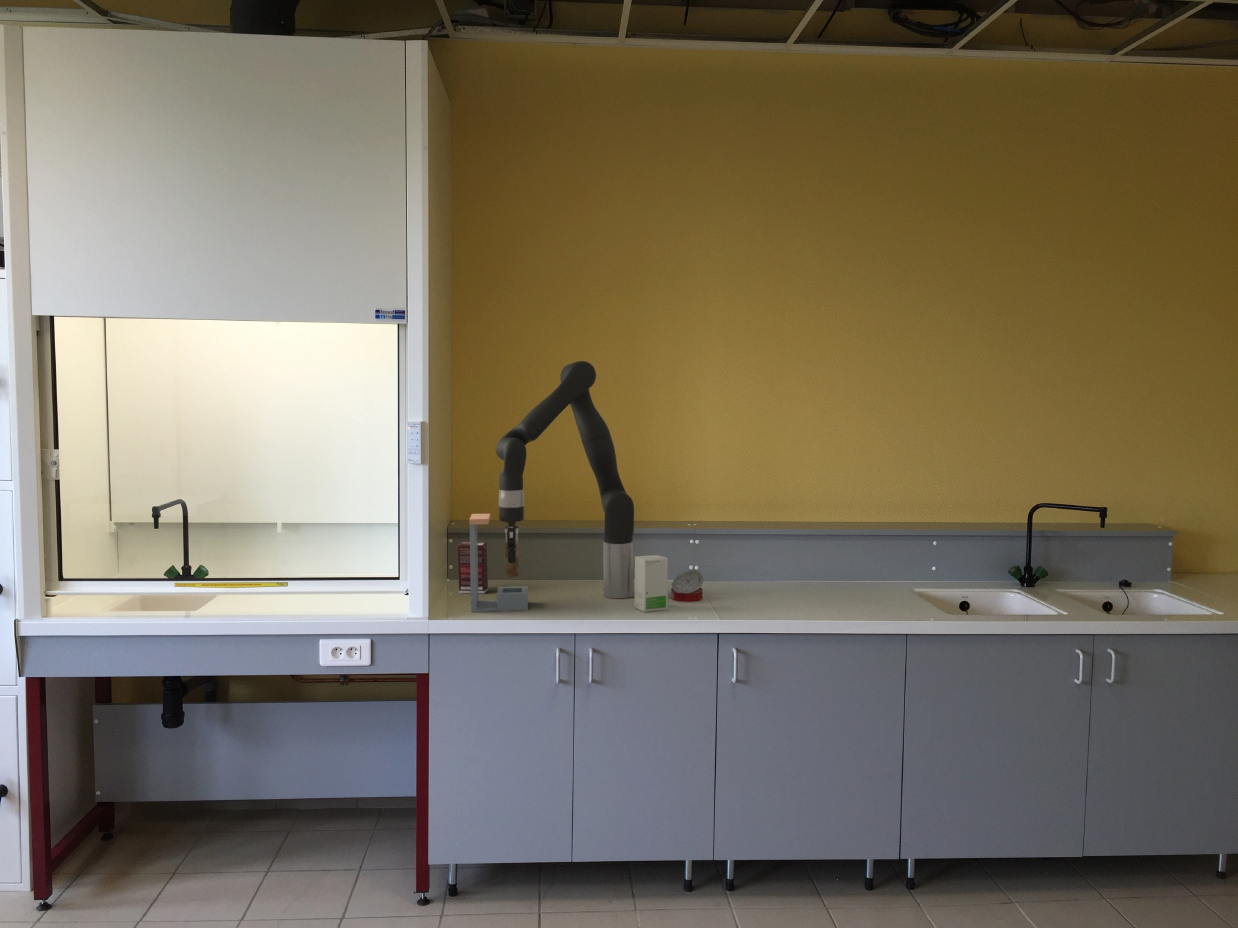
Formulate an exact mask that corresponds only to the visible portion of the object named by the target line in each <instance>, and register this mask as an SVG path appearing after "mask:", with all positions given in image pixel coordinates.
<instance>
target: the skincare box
mask: <svg viewBox="0 0 1238 928" xmlns="http://www.w3.org/2000/svg"><path fill="white" fill-rule="evenodd" d="M668 562H669V558H668V557H666V556H662V555H659V554H656V555H655V554H654V555H641V556H639V555H637V556H634V608H635V609H636V610H639V611H641V612H642V613H643V612H644V613H648V612H655V611H657V612H658V611H663V610H664V611H666V610H668V587H669V586H668V583H669V582H668V579H669V578H668V576H669V575H668V572H669V569H668V568H669V566H668V564H669V563H668Z"/></svg>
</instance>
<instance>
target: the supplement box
mask: <svg viewBox="0 0 1238 928" xmlns="http://www.w3.org/2000/svg"><path fill="white" fill-rule="evenodd" d="M487 545H488V543H487V542H477V551H478V594H485V593H487V592H488V590H489V587H488V586H489V584H488V578H489V577H488V547H487ZM457 563H458V566H457V567H458V594H471V577H470V542H466V541H465V542H464V541H463V542H460V543H459V544H457Z"/></svg>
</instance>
